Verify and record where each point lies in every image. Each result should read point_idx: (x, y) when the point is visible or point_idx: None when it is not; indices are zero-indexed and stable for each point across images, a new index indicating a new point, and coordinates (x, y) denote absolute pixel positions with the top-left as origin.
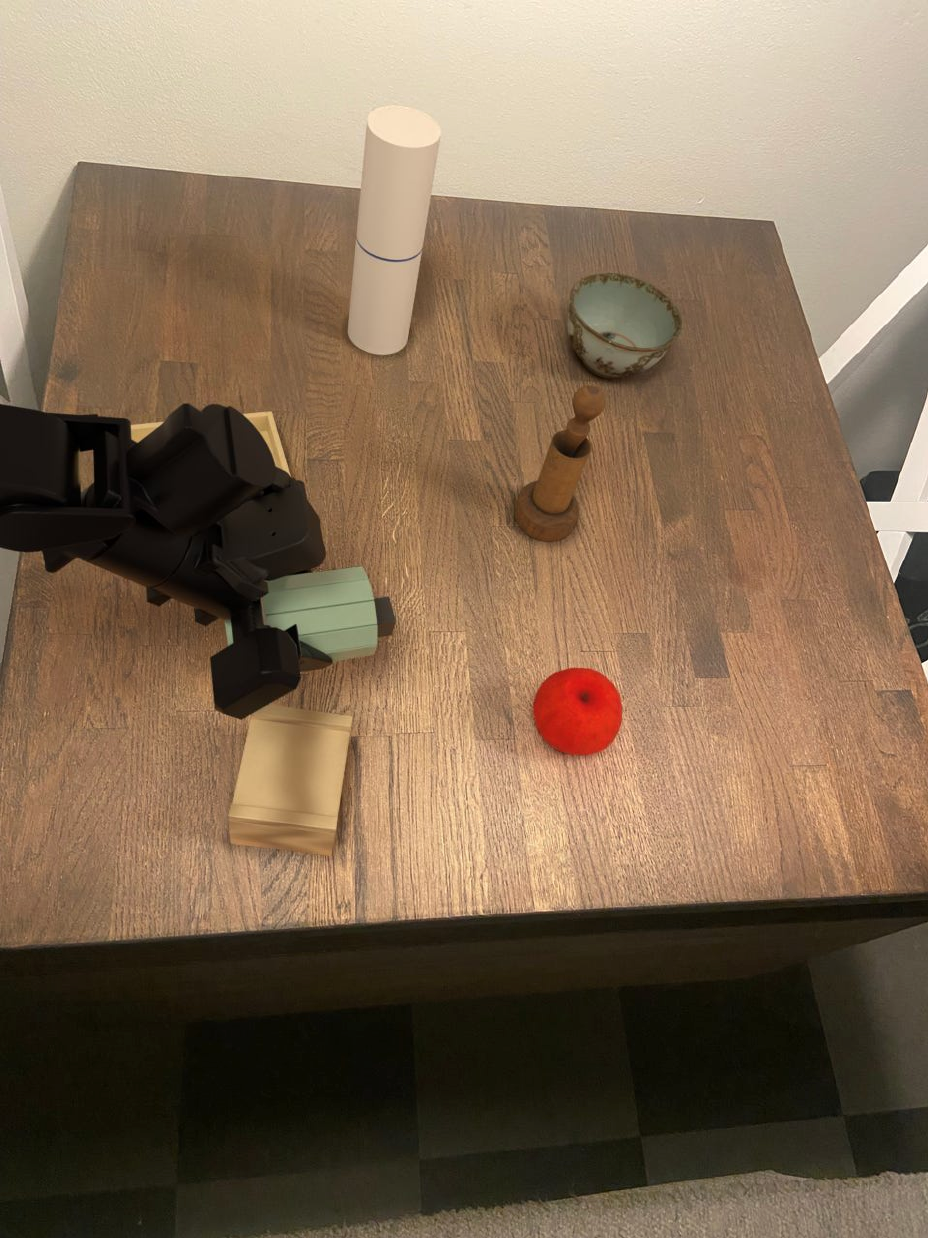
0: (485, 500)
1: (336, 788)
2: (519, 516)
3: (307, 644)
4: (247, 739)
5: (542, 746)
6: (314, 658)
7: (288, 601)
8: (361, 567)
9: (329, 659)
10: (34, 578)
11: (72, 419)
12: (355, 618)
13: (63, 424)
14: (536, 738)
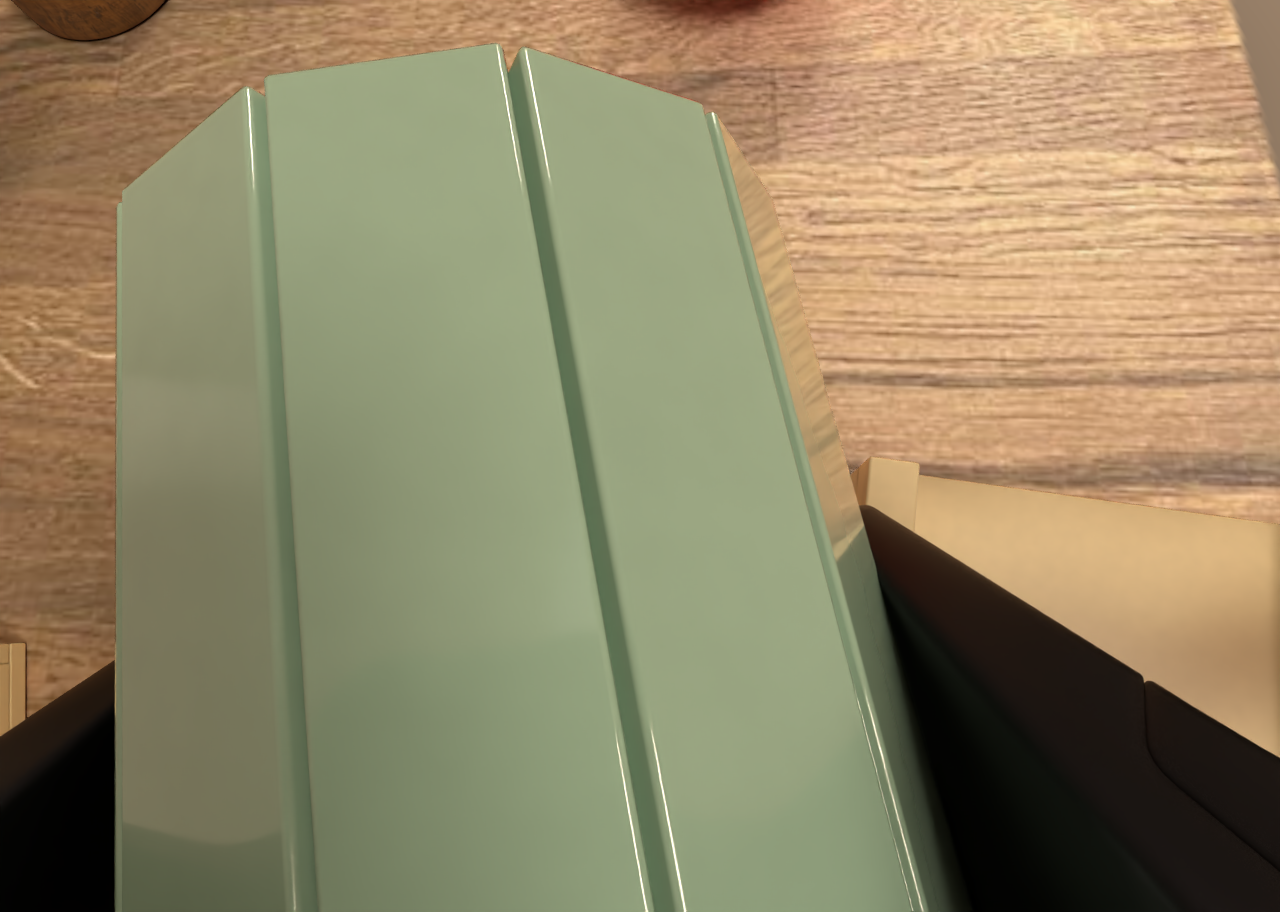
0: (28, 110)
1: (1152, 525)
2: (89, 10)
3: (1048, 745)
4: None
5: (792, 7)
6: (1109, 654)
7: None
8: (125, 200)
9: (879, 524)
10: None
11: None
12: (687, 248)
13: None
14: (769, 19)
